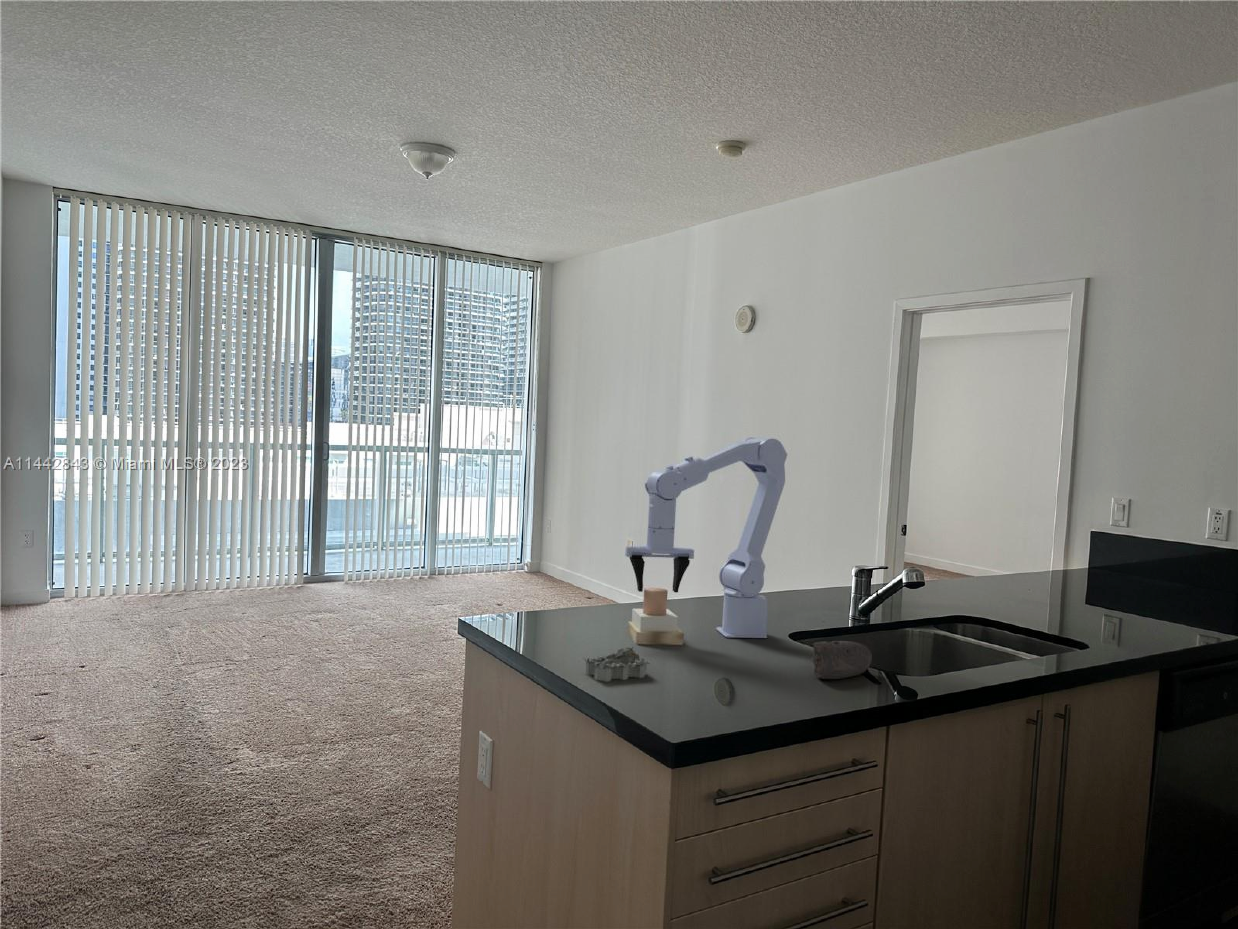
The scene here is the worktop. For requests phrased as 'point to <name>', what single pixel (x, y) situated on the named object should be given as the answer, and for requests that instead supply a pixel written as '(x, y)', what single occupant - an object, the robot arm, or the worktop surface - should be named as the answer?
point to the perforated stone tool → (840, 659)
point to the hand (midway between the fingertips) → (657, 591)
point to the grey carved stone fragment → (617, 665)
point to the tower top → (654, 621)
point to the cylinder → (655, 601)
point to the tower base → (655, 636)
